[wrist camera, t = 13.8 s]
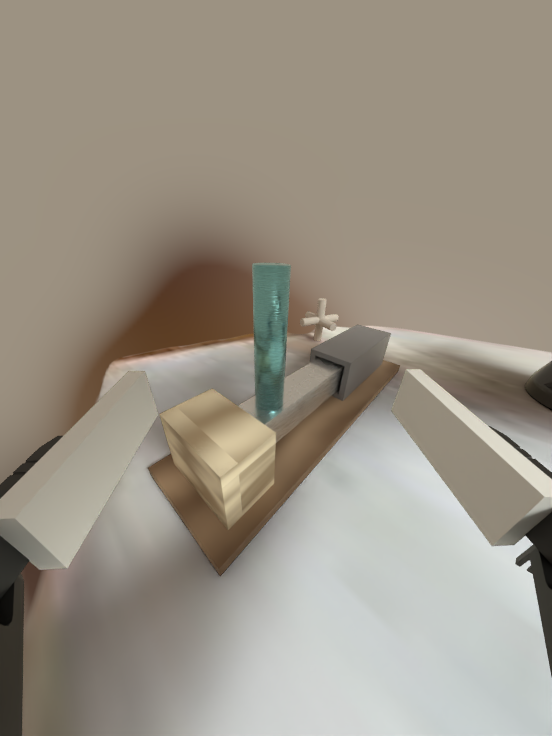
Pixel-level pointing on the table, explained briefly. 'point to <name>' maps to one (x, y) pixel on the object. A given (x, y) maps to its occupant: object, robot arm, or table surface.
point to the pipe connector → (320, 320)
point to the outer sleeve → (354, 355)
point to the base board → (291, 468)
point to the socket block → (221, 453)
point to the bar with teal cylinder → (282, 359)
